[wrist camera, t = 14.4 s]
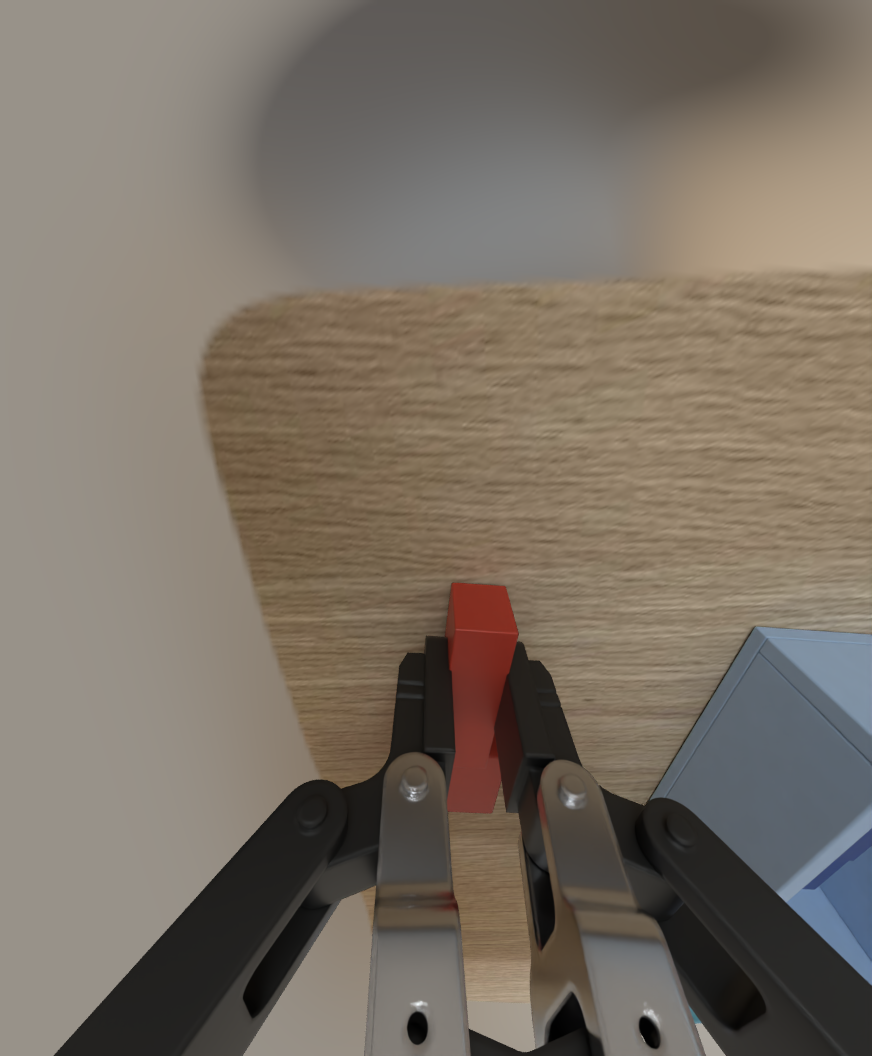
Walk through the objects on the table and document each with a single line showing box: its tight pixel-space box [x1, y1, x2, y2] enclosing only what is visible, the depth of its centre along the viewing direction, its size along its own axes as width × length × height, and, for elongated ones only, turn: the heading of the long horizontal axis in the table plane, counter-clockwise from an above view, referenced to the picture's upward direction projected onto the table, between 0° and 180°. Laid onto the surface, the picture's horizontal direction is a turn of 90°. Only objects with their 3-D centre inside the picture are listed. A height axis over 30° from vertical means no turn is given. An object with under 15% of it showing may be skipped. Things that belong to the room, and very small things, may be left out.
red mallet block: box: [445, 583, 519, 814], centre depth 12 cm, size 9×3×2 cm, turn 175°
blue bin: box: [649, 627, 872, 985], centre depth 14 cm, size 15×10×4 cm
